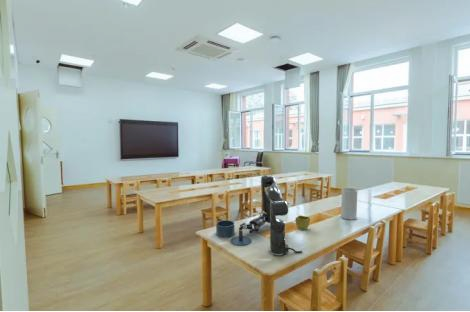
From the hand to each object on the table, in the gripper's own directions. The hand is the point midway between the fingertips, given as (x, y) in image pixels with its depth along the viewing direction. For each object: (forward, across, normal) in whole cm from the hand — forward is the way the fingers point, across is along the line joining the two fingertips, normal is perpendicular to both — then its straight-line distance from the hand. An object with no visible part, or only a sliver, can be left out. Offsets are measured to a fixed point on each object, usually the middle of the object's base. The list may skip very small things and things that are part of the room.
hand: (244, 230), depth 178 cm
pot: (+1, -16, +6) cm, 18 cm away
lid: (+5, 0, +6) cm, 8 cm away
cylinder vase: (-90, +51, +7) cm, 103 cm away
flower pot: (-42, +27, +7) cm, 50 cm away
